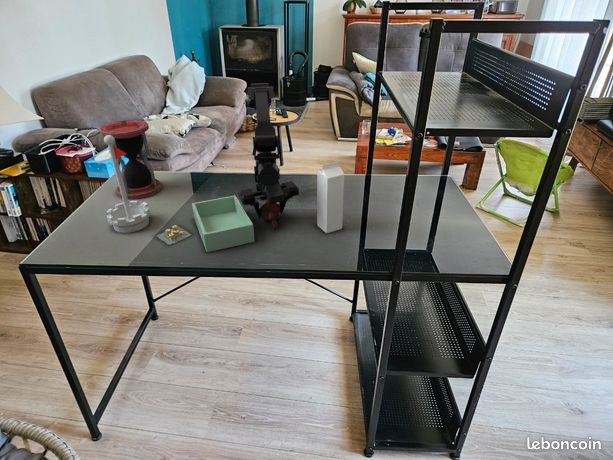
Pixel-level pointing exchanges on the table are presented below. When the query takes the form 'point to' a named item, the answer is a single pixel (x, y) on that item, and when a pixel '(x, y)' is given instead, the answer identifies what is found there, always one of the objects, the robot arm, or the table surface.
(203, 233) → the green open box
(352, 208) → the table surface
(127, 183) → the hourglass
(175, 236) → the dice set
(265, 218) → the icecream
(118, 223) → the flag stand
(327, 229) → the milk
